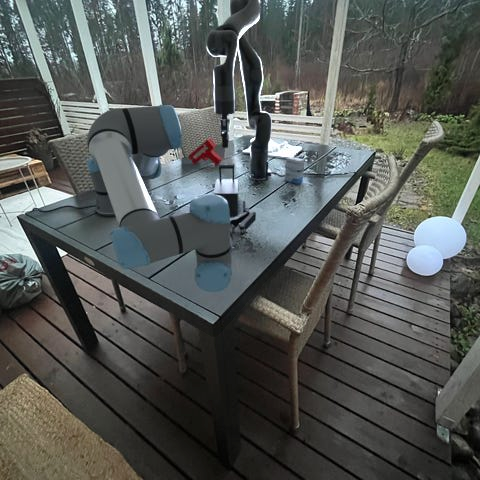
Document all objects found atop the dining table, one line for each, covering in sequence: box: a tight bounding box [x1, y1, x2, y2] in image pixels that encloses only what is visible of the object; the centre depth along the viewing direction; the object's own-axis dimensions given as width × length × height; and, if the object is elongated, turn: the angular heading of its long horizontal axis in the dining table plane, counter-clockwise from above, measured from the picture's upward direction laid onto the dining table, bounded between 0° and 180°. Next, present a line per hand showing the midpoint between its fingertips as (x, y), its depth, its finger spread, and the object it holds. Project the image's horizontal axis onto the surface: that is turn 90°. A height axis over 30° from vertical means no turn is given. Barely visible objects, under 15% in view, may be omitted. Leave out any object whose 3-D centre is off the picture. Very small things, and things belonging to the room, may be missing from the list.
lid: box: [213, 164, 239, 196], centre depth 110 cm, size 16×9×8 cm, turn 0°
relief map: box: [242, 138, 304, 160], centre depth 192 cm, size 27×35×5 cm
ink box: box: [284, 156, 306, 185], centre depth 140 cm, size 8×5×12 cm, turn 47°
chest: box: [221, 194, 239, 217], centre depth 114 cm, size 15×9×9 cm, turn 0°
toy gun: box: [188, 138, 223, 167], centre depth 168 cm, size 18×4×15 cm
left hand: (222, 205), depth 86 cm, fingers open, 13 cm apart
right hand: (225, 144), depth 108 cm, fingers open, 8 cm apart
